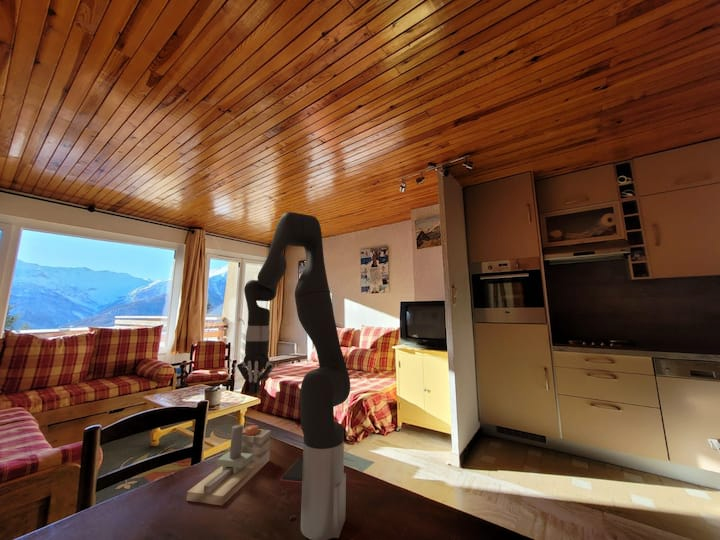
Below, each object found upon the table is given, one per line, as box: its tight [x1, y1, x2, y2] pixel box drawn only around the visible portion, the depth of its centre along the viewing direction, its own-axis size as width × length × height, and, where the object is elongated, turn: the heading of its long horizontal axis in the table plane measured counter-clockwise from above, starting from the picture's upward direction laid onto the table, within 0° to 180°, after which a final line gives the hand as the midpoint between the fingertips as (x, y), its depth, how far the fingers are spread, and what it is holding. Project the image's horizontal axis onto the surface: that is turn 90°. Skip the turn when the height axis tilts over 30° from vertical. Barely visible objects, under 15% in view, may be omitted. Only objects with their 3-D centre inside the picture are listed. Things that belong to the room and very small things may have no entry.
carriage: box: [216, 424, 253, 474], centre depth 83 cm, size 8×5×11 cm, turn 79°
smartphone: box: [279, 456, 303, 484], centre depth 87 cm, size 7×1×14 cm
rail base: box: [186, 427, 272, 506], centre depth 82 cm, size 10×23×9 cm, turn 169°
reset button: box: [244, 424, 260, 436], centre depth 91 cm, size 4×4×3 cm
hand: (254, 393), depth 93 cm, fingers closed
